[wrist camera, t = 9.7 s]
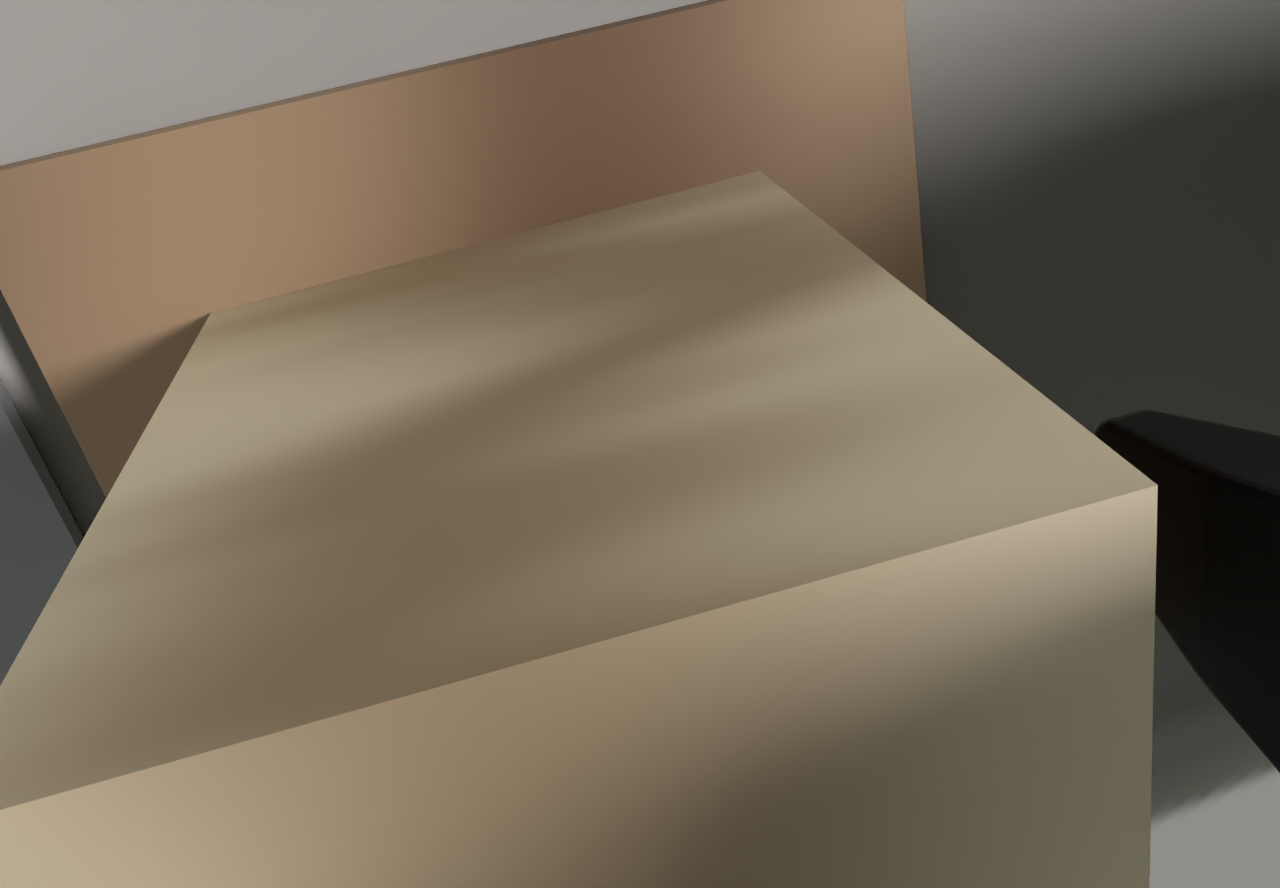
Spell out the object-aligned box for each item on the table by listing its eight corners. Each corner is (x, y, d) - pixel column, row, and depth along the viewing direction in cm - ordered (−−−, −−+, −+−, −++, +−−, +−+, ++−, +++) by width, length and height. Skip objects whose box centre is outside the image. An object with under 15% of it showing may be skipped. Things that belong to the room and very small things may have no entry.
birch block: (760, 171, 10) (1156, 483, 4) (829, 609, 12) (1145, 1165, 7) (211, 312, 9) (-83, 833, 4) (391, 734, 12) (353, 1416, 6)
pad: (887, -42, 9) (900, -40, 9) (944, 667, 13) (955, 682, 13) (-39, 175, 9) (-54, 183, 9) (295, 846, 13) (292, 867, 12)
